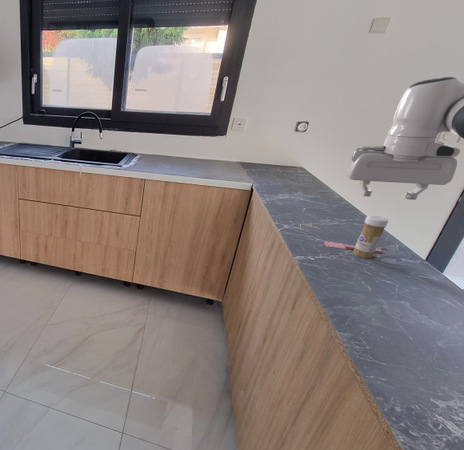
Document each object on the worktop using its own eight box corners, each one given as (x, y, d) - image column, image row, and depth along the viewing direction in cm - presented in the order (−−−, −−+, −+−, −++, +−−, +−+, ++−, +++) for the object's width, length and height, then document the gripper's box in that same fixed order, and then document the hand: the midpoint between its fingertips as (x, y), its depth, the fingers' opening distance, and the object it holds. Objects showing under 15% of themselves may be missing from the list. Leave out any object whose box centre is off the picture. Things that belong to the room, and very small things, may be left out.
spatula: (377, 249, 98) (378, 247, 98) (383, 255, 95) (384, 253, 95) (323, 242, 104) (324, 240, 104) (327, 247, 101) (327, 245, 100)
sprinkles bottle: (346, 256, 95) (362, 215, 90) (359, 254, 96) (375, 214, 90) (362, 263, 91) (379, 221, 86) (375, 262, 92) (393, 220, 86)
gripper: (360, 147, 82) (343, 197, 88) (470, 150, 74) (444, 204, 79) (351, 144, 87) (336, 191, 93) (453, 145, 79) (430, 197, 85)
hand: (387, 197), depth 86 cm, fingers open, 8 cm apart
